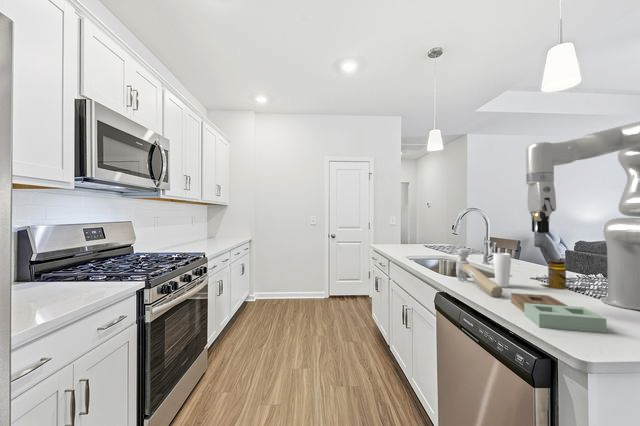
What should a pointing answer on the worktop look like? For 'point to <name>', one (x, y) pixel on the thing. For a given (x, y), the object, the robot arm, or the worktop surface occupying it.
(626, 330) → the worktop surface
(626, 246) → the robot arm
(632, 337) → the worktop surface
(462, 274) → the hammer
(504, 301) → the worktop surface
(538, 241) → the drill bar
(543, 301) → the socket block
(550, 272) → the condiment
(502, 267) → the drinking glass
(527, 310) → the frame
